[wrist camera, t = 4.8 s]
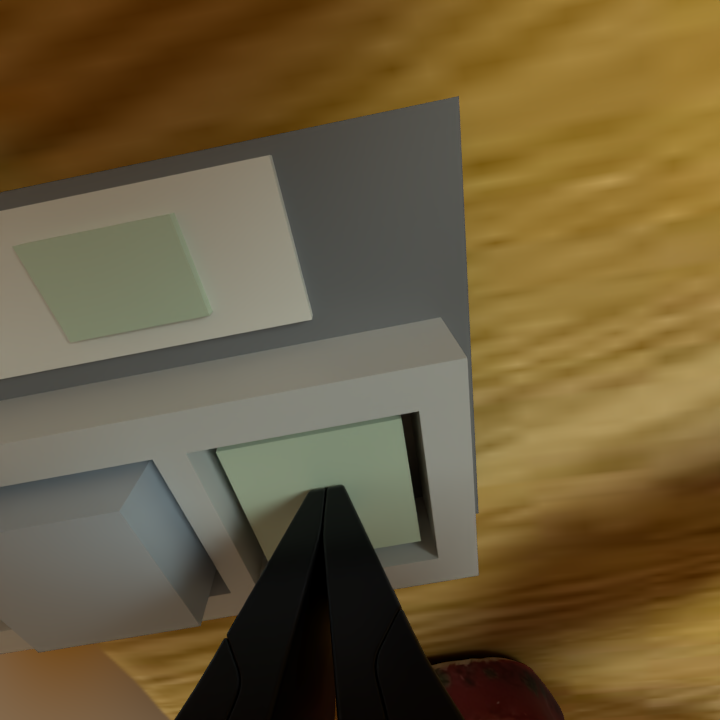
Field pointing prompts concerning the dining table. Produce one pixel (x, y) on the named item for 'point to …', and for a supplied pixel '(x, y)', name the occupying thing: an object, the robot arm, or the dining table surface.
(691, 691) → the dining table surface
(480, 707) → the decorative planter
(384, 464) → the sage key
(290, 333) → the keypad
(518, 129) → the dining table surface
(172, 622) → the slate key
